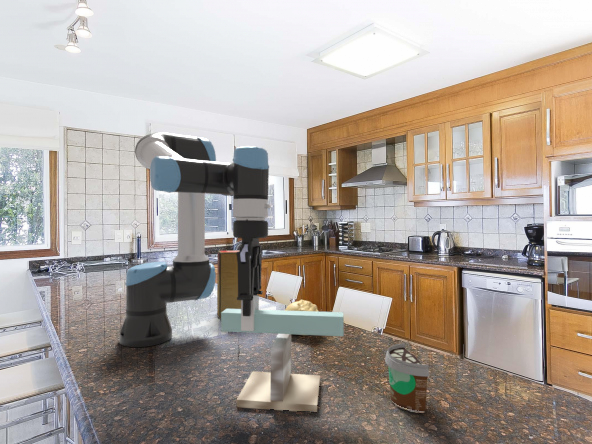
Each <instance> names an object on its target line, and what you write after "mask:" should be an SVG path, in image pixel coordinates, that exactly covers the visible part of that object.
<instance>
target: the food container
mask: <svg viewBox="0 0 592 444" xmlns="http://www.w3.org/2000/svg"><path fill="white" fill-rule="evenodd" d="M384 362H385V364H386V365H387V366H388V380H389V395H390V397H391V398H390V401H391V400H392V401H393V402H394V403H396V404H397V405H399V406H401V407H404V408H407V409H412V410H417V411H418V410H419V411H425V412H426V410H427V409H426V405H427V392H428V391H427V389H428V378H429V377H430V369H429V364H423V363H421V362H420V361H419V359H418V358H417V357H416V356H415V355H414V354H413V353H411V352H409V350H407V348H406V344H405V343H398V344H397V343H396V344H394V345H391V346H389V347H388V348H387V351H386V353H385V357H384Z"/></svg>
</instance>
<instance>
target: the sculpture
mask: <svg viewBox="0 0 592 444" xmlns="http://www.w3.org/2000/svg"><path fill="white" fill-rule="evenodd" d="M284 310H285V311H316V312H319V310H318V306H317V305H316V304H313V303H312V302H311V301H309V300H304V299H300V300H298V301H294V302H291V303H290V304H288V305H287V306H286V307H285V309H284ZM296 335H298V336H300V335H299V334H296Z"/></svg>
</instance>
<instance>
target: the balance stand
mask: <svg viewBox="0 0 592 444" xmlns="http://www.w3.org/2000/svg"><path fill="white" fill-rule="evenodd" d="M319 386H320V387H321V375H316V374H304V373H303V374H299V373H292V334H277V335H276V337H275V338H274V341H273V343H272V344H271V346H270V371H269V372H267V371H264V372H263V371H255V370H254V371H252V372H251V373H250V375H249V377H248V379H247V380H246V382H245V384H244V386H243V387H242V389H241V391H240V393H239V394H238V396H237V398H236V408H243V409H244V408H245V409H257V410H258V409H259V410H270V409H274V410H273V411H283V410H289V411H288V412H297V411H310V412H309V413H311V411H314V412H317V413H318V406H317V405H318V403H319V397H318V396H320V395H319V394H320V387H319Z"/></svg>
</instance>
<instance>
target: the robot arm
mask: <svg viewBox="0 0 592 444" xmlns="http://www.w3.org/2000/svg"><path fill="white" fill-rule="evenodd" d="M134 153H135V158H136V160H137V161H138V163H139V164H141V166H142V167H144V168H146V169H149V176H150V177H149V179H150V181H149V182H150V184H151V188H152V189H153V190H155V192H156V191H158V192H165V193H177V254H176V256H175V257H174V258H173V259H172V265H168V264H167V262H166V261H155V262H154V261H153V262H152V261H151V262H147V263H143V264H142V263H141V264H138V265H134V266H131V267H129V268H128V270H127V272H126V277H125V282H124V283H125V317H124V321H123V323H122V326H121V330H120V332H119V336H118V337H119V339H118V343H119V344H120V345H121V346H123V347H126V348H145V347H146V348H148V347H151V346H153V347H154V346H157V345H160V344H163V343H165V342H168V341H169V340H171V339H172V337H173V327H172V324H171V322H170V319H169V316H168V313H167V312H168V311H167V304H170V303H178V302H187V301H198V300H203V299H207V298H209V297H210V296H211V295H212V292H213V291H214V288H215V285H216V280H217V279H216V278H217V277H216V276H217V275H216V274H217V273H216V268H215V265H214V264H213V263H211V262H210V257H208V256H207V255H206V253H205V250H206V247H205V246H206V243H205V242H206V239H205V238H206V237H205V235H206V228H205V224H206V222H205V221H206V216H205V215H206V213H205V212H206V209H205V208H206V194H208V195H209V194H210V195H221V196H225V197H227V196H228V197H232V198H233V200H232V201H233V202H232V204H233V205H232V217H233V218H234V219H235V220H234V221H233V222H232V235H233V237H234V238H236V239H241V243H240V245H241V246H239V252H237V254H236V255H237V262H238V297H237V300H241V331H254V311H255V310H260V295H263V292H264V291H263V290H262V265H263V264H262V260H263V257H262V256H263V250H264V249H263V247H262V246H261V245H260V239H265V238H268V236H269V222H268V220H266V219H267V218H268V217H269V210H268V209H271V204H270V203H269V175H270V174H269V172H270V171H269V169H270V165H269V153H268V150H266V149H265V148H263V147H259V146H253V145H252V146H250V145H246V146H240V147H239V146H238V147H236V148H235V149H234V151H233V156H232V157H233V158H232V162H221V161H217V157H216V156H217V155H216V151H215V146H214V144H213V143H212V141H210V139H207V138H204V137H199V136H197V135H195V136H194V135H184V134H177V133H169V132H153V133H150V134H147V135H144V136H142V137H141V138H140V139H139V140H138V141H137V143H136V144H135V148H134Z"/></svg>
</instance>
